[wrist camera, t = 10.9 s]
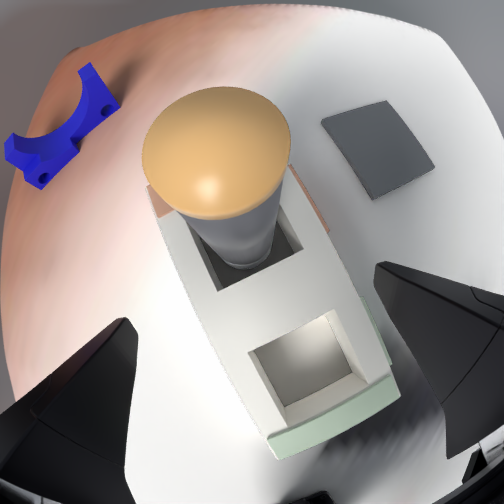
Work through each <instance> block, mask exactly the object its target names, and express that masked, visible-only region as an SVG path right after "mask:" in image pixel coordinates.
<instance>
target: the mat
mask: <svg viewBox="0 0 504 504" xmlns="http://www.w3.org/2000/svg"><path fill="white" fill-rule="evenodd" d="M321 124H322V125H323V127H324V128H325V129H326V131H327V132H328V133H329V135H330V136H331V137H332V139H333V140H334V142H335V143H336V144H337V146H338V147H339V149H340V150H341V152H342V153H343V155H344V156H345V158H346V159H347V161H348V162H349V164H350V165H351V167H352V168H353V170H354V171H355V173H356V174H357V176H358V177H359V179H360V181H361V182H362V184H363V186H364V187H365V189H366V190H367V192H368V194H369V195H370V197H371V199H372V200H374V199H376V198H378V197H380V196H382V195H384V194H386V193H388V192H390V191H392V190H394V189H396V188H397V187H399V186H401V185H403V184H405V183H407V182H409V181H411V180H413V179H415V178H417V177H419V176H421V175H423V174H425V173H427V172H429V171H431V170H433V169H434V168H435V166H434V164H433V163H432V161H431V160H430V158H429V157H428V155H427V153H426V152H425V150H424V149H423V148H422V146H421V145H420V143H419V142H418V140H417V139H416V137H415V136H414V135H413V133H412V132H411V131H410V129H409V128H408V127H407V125H406V124H405V123H404V121H403V120H402V119H401V117H400V116H399V115H398V114H397V112H396V111H395V110H394V109H393V108H392V106H391V105H390V104H389V103H388V102H387V101H383V102H379V103H376V104H372V105H368V106H365V107H361V108H357V109H354V110H351V111H347V112H344V113H341V114H337V115H334V116H331V117H328V118H325V119H322V122H321Z"/></svg>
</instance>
